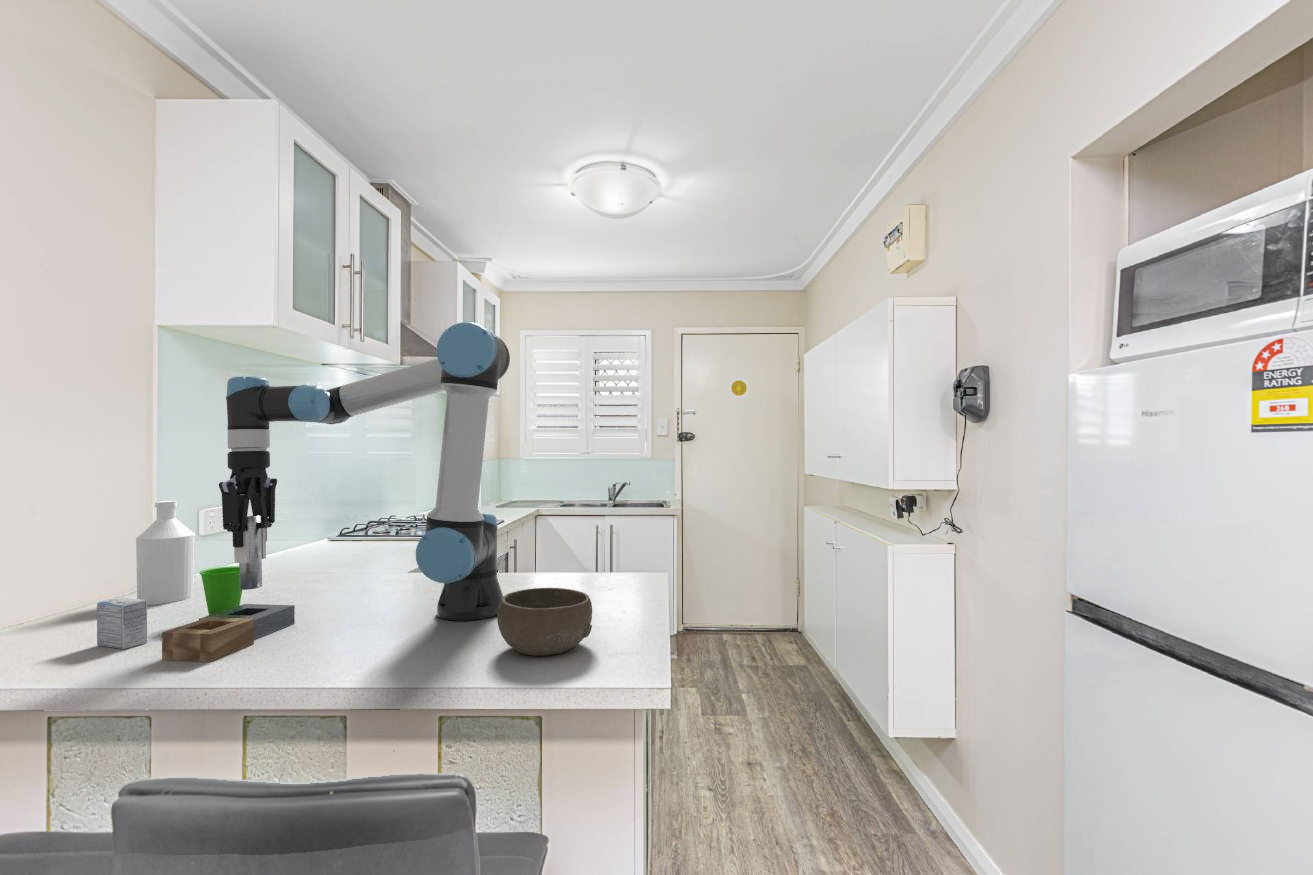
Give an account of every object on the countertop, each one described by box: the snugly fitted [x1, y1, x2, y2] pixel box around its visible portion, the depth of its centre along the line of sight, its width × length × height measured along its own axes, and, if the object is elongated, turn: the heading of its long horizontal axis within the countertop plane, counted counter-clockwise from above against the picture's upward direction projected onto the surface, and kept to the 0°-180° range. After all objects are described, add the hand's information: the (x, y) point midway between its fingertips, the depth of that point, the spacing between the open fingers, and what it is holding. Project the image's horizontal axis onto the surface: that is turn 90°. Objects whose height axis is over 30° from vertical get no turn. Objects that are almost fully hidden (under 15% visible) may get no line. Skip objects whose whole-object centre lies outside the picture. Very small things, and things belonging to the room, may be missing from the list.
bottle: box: [135, 500, 196, 606], centre depth 159 cm, size 12×12×25 cm
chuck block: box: [198, 603, 296, 641], centre depth 131 cm, size 12×12×4 cm
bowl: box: [496, 587, 593, 657], centre depth 119 cm, size 17×18×10 cm
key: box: [238, 515, 270, 591], centre depth 131 cm, size 4×8×15 cm, turn 83°
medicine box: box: [96, 596, 148, 650], centre depth 122 cm, size 8×4×9 cm, turn 71°
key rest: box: [161, 617, 255, 663], centre depth 118 cm, size 10×10×5 cm
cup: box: [198, 565, 243, 616], centre depth 141 cm, size 9×9×11 cm
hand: (250, 560), depth 131 cm, fingers closed on key, 4 cm apart
